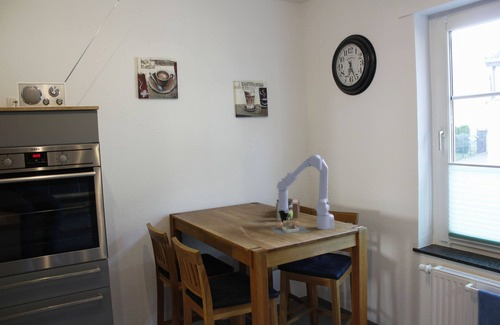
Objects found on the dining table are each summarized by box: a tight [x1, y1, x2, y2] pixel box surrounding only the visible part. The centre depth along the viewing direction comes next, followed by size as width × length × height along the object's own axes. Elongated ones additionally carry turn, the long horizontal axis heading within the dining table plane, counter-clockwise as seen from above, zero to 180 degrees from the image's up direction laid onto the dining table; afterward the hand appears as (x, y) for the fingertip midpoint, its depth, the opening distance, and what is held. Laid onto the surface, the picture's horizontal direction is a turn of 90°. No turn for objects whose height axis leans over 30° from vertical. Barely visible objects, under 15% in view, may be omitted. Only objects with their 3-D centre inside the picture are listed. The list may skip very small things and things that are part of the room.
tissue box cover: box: [275, 197, 300, 219], centre depth 276 cm, size 26×14×10 cm, turn 170°
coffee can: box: [276, 198, 294, 222], centre depth 254 cm, size 10×10×14 cm
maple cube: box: [283, 221, 292, 229], centre depth 230 cm, size 4×4×4 cm
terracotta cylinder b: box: [275, 221, 283, 229], centre depth 229 cm, size 4×4×4 cm
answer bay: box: [282, 226, 300, 233], centre depth 224 cm, size 8×8×2 cm
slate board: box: [269, 225, 312, 235], centre depth 226 cm, size 20×16×1 cm
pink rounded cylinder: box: [291, 220, 300, 228], centre depth 231 cm, size 4×4×4 cm
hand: (283, 222), depth 237 cm, fingers closed
